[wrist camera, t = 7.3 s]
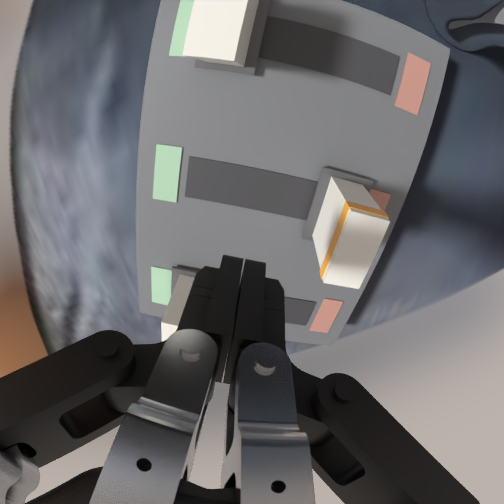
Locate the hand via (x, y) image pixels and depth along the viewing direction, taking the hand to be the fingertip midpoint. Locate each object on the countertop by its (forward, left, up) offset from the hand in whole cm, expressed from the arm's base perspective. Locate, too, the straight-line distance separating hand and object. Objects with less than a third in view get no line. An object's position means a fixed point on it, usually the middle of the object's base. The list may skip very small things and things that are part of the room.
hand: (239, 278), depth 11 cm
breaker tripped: (-5, 0, -8) cm, 10 cm away
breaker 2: (+3, -9, -8) cm, 13 cm away
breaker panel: (-1, 0, -12) cm, 12 cm away
